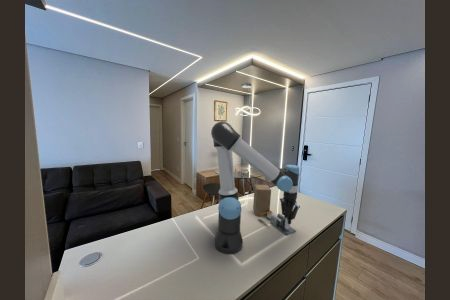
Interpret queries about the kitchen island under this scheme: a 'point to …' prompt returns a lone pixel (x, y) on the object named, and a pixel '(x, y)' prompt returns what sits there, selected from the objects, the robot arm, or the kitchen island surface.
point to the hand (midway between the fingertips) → (287, 227)
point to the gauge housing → (275, 223)
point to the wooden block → (261, 199)
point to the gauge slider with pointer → (280, 221)
